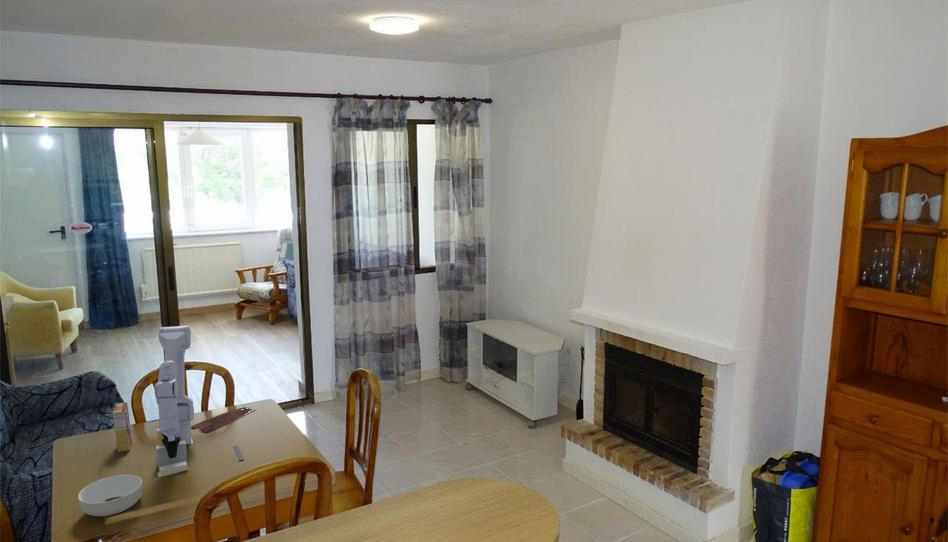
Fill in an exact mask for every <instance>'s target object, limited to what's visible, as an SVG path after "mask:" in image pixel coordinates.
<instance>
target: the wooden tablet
mask: <svg viewBox="0 0 948 542" xmlns="http://www.w3.org/2000/svg"><path fill="white" fill-rule="evenodd" d="M242 407H243V408H240V407H238V408H239V409H237V408H234V409H231V410H229V411H226V412H223V413H221V414H218V415H214V416H212V417H210V418H207V419H204V420H203V421H200V422H197V423H195V424H193V425H192V426H190V428H192V429H191V430H194V429H200V430H198V431H199V432H200V431H201V432H200V433H203V432H204V434H206V433H209V431H210V432H213V431H215V430H217V429H219V428H218V427H220V428H222V427H224V426H226V425H229V424H230V422H231V423H232V421H233V422H235V421H237V420H239V419H240V418H239V417H241V416H243V415H245V414H246V413H248V411H250V410H252V409H249V408H250V407H247V408H248V409H246V406H245V407H244V406H242ZM241 409H244V410H241ZM245 416H246V415H245ZM243 417H244V416H243ZM238 418H239V419H238ZM241 418H242V417H241ZM236 419H237V420H236ZM221 426H222V427H221ZM214 429H215V430H214Z"/></svg>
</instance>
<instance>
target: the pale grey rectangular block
mask: <svg viewBox="0 0 948 542" xmlns="http://www.w3.org/2000/svg"><path fill="white" fill-rule="evenodd" d="M155 449H156V461H157V467H158V468H159V467H162V466H166V465H170V464H174V463H178V462H182V461H186V462H188V454H187V453H188V452H187V445H186V442H185V441H180V442H179V444H178V448H177V455H176V457H175V458H169V456H168V453H167V450H166V447H165V446H164V444H160V445H155Z"/></svg>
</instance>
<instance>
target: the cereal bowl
mask: <svg viewBox="0 0 948 542" xmlns="http://www.w3.org/2000/svg"><path fill="white" fill-rule="evenodd" d="M143 491H144V483H143V479H142V477H139V476H137V475H135V474H134V475H133V474H117V475H113V476H107V477H105V478H101V479H99V480H95V481H93V482H91V483H90V484H88V485H86V486H85V487H83V488H82V489H81V490H80V491H79V493H78V495H77V500H78V504H79V507H80V509H81V510H82V511H83V513H85V514H87V515H89V516H94V517H108V516H109V517H110V516H114V515H116V514H119V513H123V512H124V511H126V510H128V509H129V508H131V507H133V506H134V505H135V504H136V503H137V502H138V501H139V500H140V499H141V496H142V495H143ZM113 498H115V499H113ZM109 499H111V500H109ZM107 500H108V501H107Z"/></svg>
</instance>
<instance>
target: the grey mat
mask: <svg viewBox="0 0 948 542" xmlns="http://www.w3.org/2000/svg"><path fill="white" fill-rule="evenodd" d="M232 449H233V451H234V453H235V456H236V458H237V460H238V461H239V462H242V461H245V459H244V457H243V455H242V452H241V449H240V448H239V445H235V446H232Z"/></svg>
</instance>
